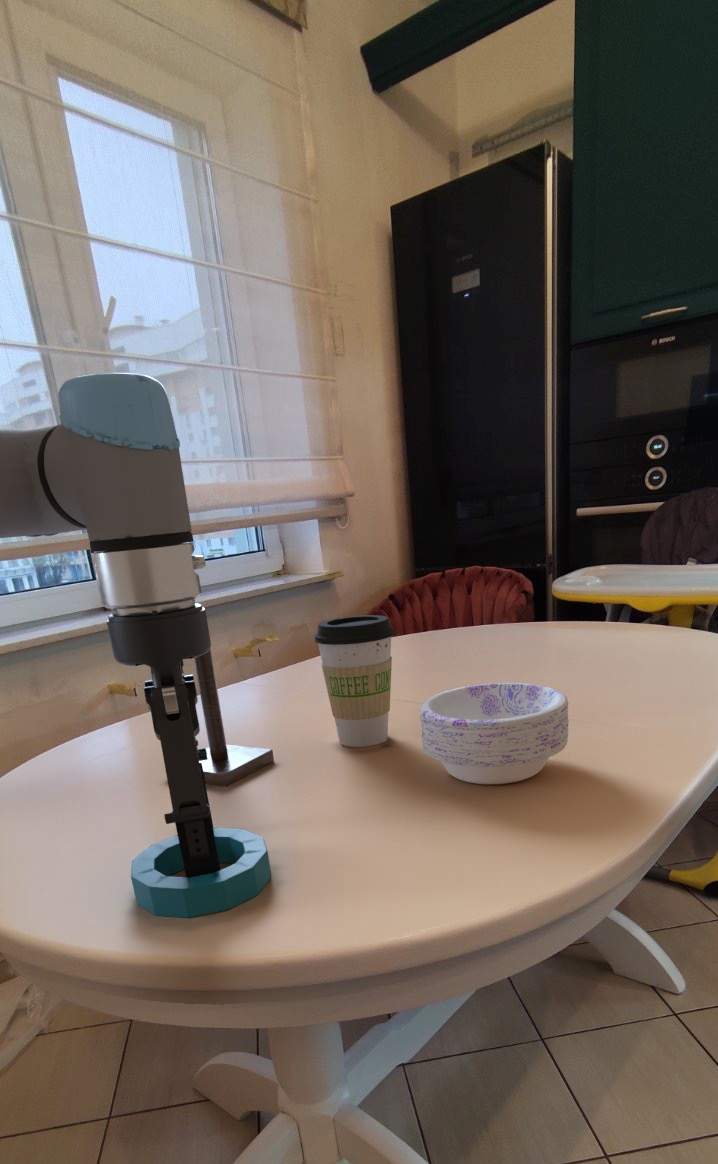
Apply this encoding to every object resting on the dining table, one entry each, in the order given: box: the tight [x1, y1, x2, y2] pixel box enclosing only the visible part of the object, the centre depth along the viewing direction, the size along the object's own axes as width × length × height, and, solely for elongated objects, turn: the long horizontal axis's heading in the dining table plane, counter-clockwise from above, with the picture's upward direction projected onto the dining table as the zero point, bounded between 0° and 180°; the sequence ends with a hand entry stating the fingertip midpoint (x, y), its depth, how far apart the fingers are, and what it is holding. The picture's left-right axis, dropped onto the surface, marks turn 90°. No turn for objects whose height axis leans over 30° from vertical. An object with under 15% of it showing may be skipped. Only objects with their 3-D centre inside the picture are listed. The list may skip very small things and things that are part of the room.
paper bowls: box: [419, 682, 569, 785], centre depth 77 cm, size 15×15×8 cm
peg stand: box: [193, 647, 275, 787], centre depth 84 cm, size 9×9×16 cm
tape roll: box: [130, 827, 272, 919], centre depth 59 cm, size 11×11×2 cm
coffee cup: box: [313, 614, 396, 748], centre depth 90 cm, size 10×10×15 cm
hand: (202, 857), depth 64 cm, fingers open, 12 cm apart
